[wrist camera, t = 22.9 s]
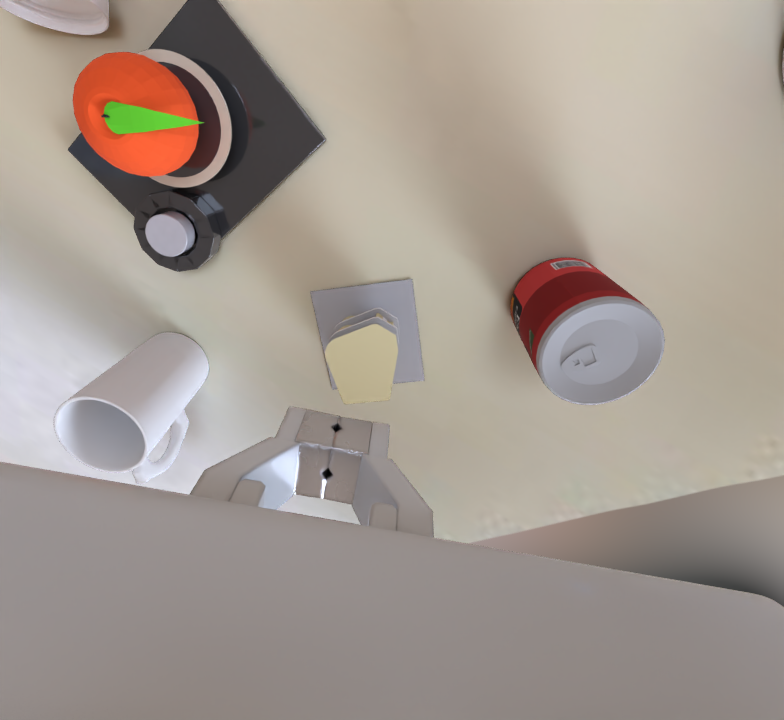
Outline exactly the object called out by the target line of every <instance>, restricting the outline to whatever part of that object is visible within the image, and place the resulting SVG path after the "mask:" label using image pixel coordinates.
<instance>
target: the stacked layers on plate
mask: <svg viewBox="0 0 784 720" xmlns="http://www.w3.org/2000/svg"><path fill="white" fill-rule="evenodd" d="M310 293H311V297H312V302H313V306H314V311H315V315H316V319H317V324H318V328H319V332H320V337H321V341H322V346H323V350H324V354H325V359H326V363H327V367H328V372H329V376H330V381H331V385H332V389H333V390H334V389H338V391H339V393H340V396H341V398H342V401H343V403H344V404H355V403H365V402H376V401H387V400H389V399H390V395H391V389H392V384H395V383H405V382H415V381H425V380H424V372H423V364H422V356H421V348H420V340H419V332H418V324H417V316H416V308H415V299H414V291H413V283H412V279H409V280H401V281H393V282H384V283H376V284H368V285H360V286H352V287H343V288H335V289H327V290H319V291H311V292H310Z"/></svg>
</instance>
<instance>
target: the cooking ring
mask: <svg viewBox="0 0 784 720" xmlns="http://www.w3.org/2000/svg"><path fill="white" fill-rule="evenodd" d="M136 54H140V55H144V56H146V57H148V58H150V59H152V60H154V61H156V62H158V63H159V64H161V65H163V66H165V67H166V68H167V69H168V70H169V71H171V72H172V73H173V74H174V75H175V76H176V77H178V79H179V80H180V81H181V83H182V84H183V85H184V87H185V88H186V89H187V91H188V93H189V95H190V97H191V99H192V101H193V103H194V105H195V108H196V113H197V117H198V121H199V122H204V123H201V124H198V130H199V134H198V139H197V143H196V147H195V150H194V152H193V153H192V155H191V157H190V159H189V160H188V161H187V162H186V163H185V164H184V165H182V166H181V167H180V168H179V169H177V170H175V171H173V172H170V173H168V174H165V175H163V176H151V177H150V178H152V179H153V180H155V181H157V182H160V183H162V184H165V185H168V186H173V187H182V188H185V187H193V186H197V185H200V184H203V183H205V182H207V181H208V180H210V179H212V178H213V177H214V176H215V175H216V174H217V173H218V172H219V171H220V170H221V168H222V167H223V165H224V164H225V162H226V160H227V157H228V155H229V151H230V148H231V141H232V126H231V119H230V114H229V110H228V107H227V104H226V102H225V100H224V97H223V95H222V93H221V92H220V90H219V88H218V86H217V85H216V84H215V82H214V81H213V80H212V78H211V77H210V76H209V75H208V74H207V73H206V72H205V70H203V69H202V68H201V67H200V66H199V65H198V64H196V63H195V62H193V61H192V60H190V59H189V58H187V57H185V56H183V55H181V54H178V53H175V52H173V51H168V50H163V49H150V50H144V51H141V52H138V53H136Z"/></svg>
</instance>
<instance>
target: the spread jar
mask: <svg viewBox="0 0 784 720" xmlns="http://www.w3.org/2000/svg"><path fill="white" fill-rule="evenodd" d="M0 7H1V8H3V9H5V10H6V11H8V12H10V13H12V14H14V15H16V16H18V17H20V18H23V19H25V20H27V21H30V22H32V23H35V24H38V25H40V26H43V27H46V28H50V29H53V30H57V31H61V32H66V33H71V34H78V35H96V34H100V33H103V32H105V31H106V30H107V29H108V27H109V1H108V0H0Z"/></svg>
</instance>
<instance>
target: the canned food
mask: <svg viewBox="0 0 784 720" xmlns="http://www.w3.org/2000/svg"><path fill="white" fill-rule="evenodd" d="M510 309H511V317H512V320H513V323H514V325H515V327H516V329H517V331H518V333H519V335H520V338H521V340H522V342H523V344H524V346H525V348H526V350H527V352H528V354H529V356H530V358H531V360H532V362H533V364H534V367H535V369H536V370H537V372H538V374H539V376H540V378H541V379H542V381H543V383H544V384H545V385H546V386H547V388H548V389H549V390H550V391H551V392H552V393H553V394H555V395H556V396H558V397H559V398H561V399H563V400H565V401H568V402H571V403H575V404H581V405H596V404H603V403H608V402H611V401H615V400H618V399H620V398H622V397H624V396H626V395H628V394H630V393H631V392H633V391H635V390H636V389H638V388H639V387H640V386H641V385H642V384H643V383H645V382H646V381H647V380H648V379H649V377H650V376H651V375H652V374H653V373H654V371H655V370H656V368H657V366H658V364H659V363H660V361H661V358H662V355H663V352H664V342H665V339H664V333H663V329H662V327H661V325H660V322H659V321H658V319H657V318H656V317H655V316H654V315H653V313H652V312H651V311H650V310H649V309H648V308H647V307H646V306H644V305H643V304H642V303H641V302H640V301H638V300H637V299H636V298H635V297H633V296H632V295H631V294H629V293H628V292H627V291H625V290H624V289H623V288H622V287H620V286H619V285H618V284H616V283H615V282H614V281H612V280H611V279H610V278H609V277H607V276H606V275H605V274H603V273H602V272H601V271H599V270H598V269H597V268H596V267H594V266H593V265H591V264H590V263H588V262H586V261H583V260H581V259H576V258H557V259H551V260H548V261H545V262H543V263H540V264H539V265H537V266H535V267H533V268H532V269H531V270H530V271H528V272H527V273H526V274H525V275H524V276H523V277H522V279H521V280H520V281H519V283H518V284H517V286H516V288H515V291H514V293H513V296H512V299H511V306H510Z"/></svg>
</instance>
